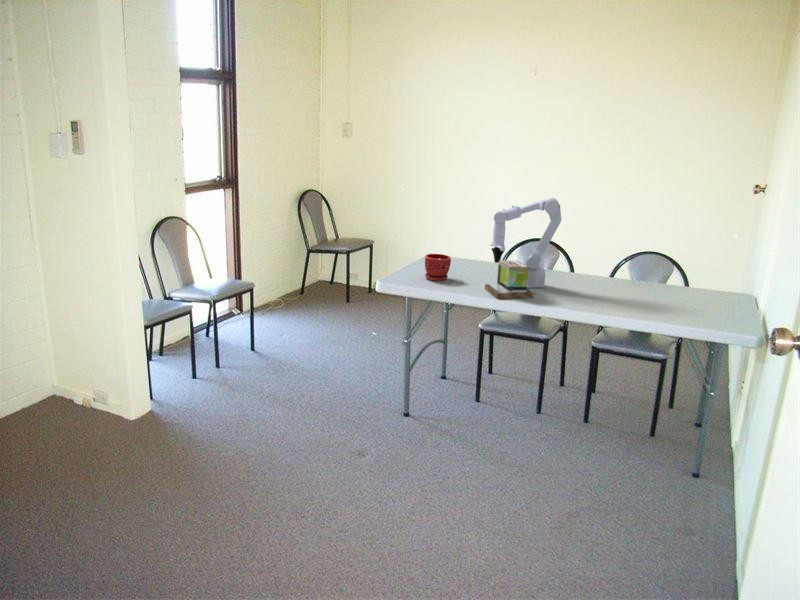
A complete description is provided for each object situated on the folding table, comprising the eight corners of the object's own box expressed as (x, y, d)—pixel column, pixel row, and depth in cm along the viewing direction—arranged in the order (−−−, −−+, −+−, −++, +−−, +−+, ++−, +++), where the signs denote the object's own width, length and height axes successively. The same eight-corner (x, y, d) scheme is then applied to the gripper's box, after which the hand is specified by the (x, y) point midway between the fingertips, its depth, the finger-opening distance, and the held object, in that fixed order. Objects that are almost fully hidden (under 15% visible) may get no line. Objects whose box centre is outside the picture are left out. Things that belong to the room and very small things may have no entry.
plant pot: (426, 282, 336) (427, 258, 333) (422, 276, 349) (423, 253, 346) (452, 282, 338) (453, 258, 335) (447, 275, 351) (448, 253, 347)
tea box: (526, 297, 314) (529, 266, 310) (506, 297, 312) (508, 266, 308) (515, 289, 328) (517, 259, 325) (495, 289, 327) (498, 259, 323)
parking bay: (518, 288, 330) (519, 283, 329) (532, 297, 313) (533, 292, 313) (484, 289, 326) (485, 284, 326) (496, 298, 310) (497, 293, 309)
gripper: (486, 233, 339) (484, 259, 343) (496, 238, 326) (494, 265, 329) (499, 233, 341) (498, 259, 344) (510, 238, 327) (508, 265, 331)
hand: (497, 262), depth 337 cm, fingers closed
